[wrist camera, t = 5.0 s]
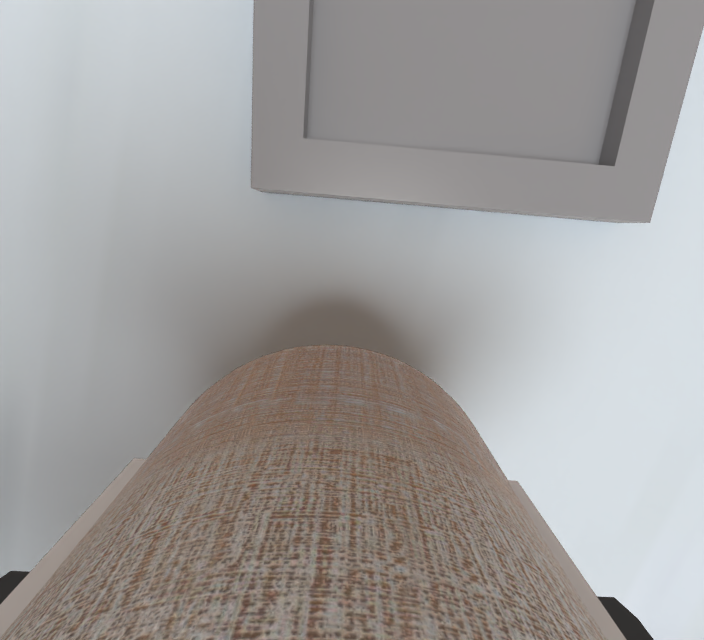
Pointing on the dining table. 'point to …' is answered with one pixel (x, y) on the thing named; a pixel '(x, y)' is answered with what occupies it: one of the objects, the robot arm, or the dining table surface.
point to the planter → (314, 522)
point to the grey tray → (472, 102)
